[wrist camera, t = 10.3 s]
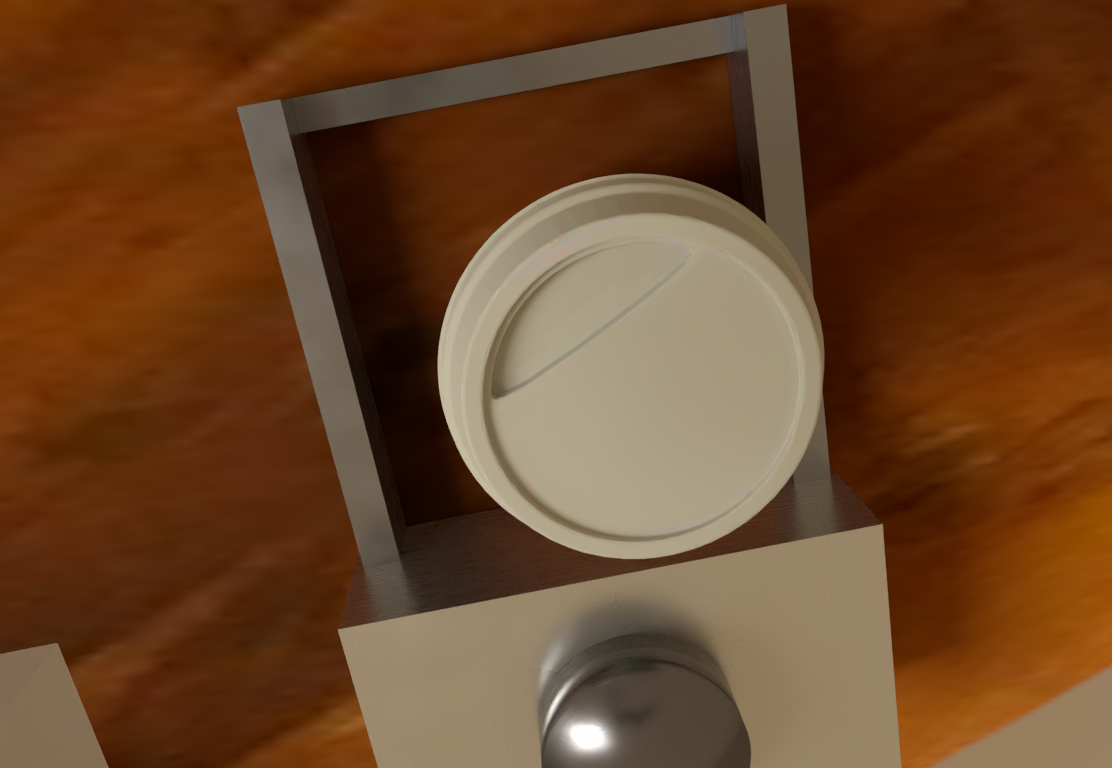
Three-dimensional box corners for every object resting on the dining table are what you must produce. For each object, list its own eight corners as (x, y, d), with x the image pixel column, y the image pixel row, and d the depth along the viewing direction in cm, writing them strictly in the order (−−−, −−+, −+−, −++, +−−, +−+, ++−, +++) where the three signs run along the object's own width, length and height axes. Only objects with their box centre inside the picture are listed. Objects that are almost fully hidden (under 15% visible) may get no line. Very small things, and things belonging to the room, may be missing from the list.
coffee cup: (713, 132, 29) (855, 164, 18) (719, 391, 32) (846, 562, 21) (440, 155, 29) (407, 203, 18) (469, 415, 32) (457, 602, 20)
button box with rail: (248, 107, 28) (158, 116, 21) (770, 8, 28) (874, -19, 21) (427, 765, 36) (410, 950, 28) (837, 685, 36) (931, 847, 28)
